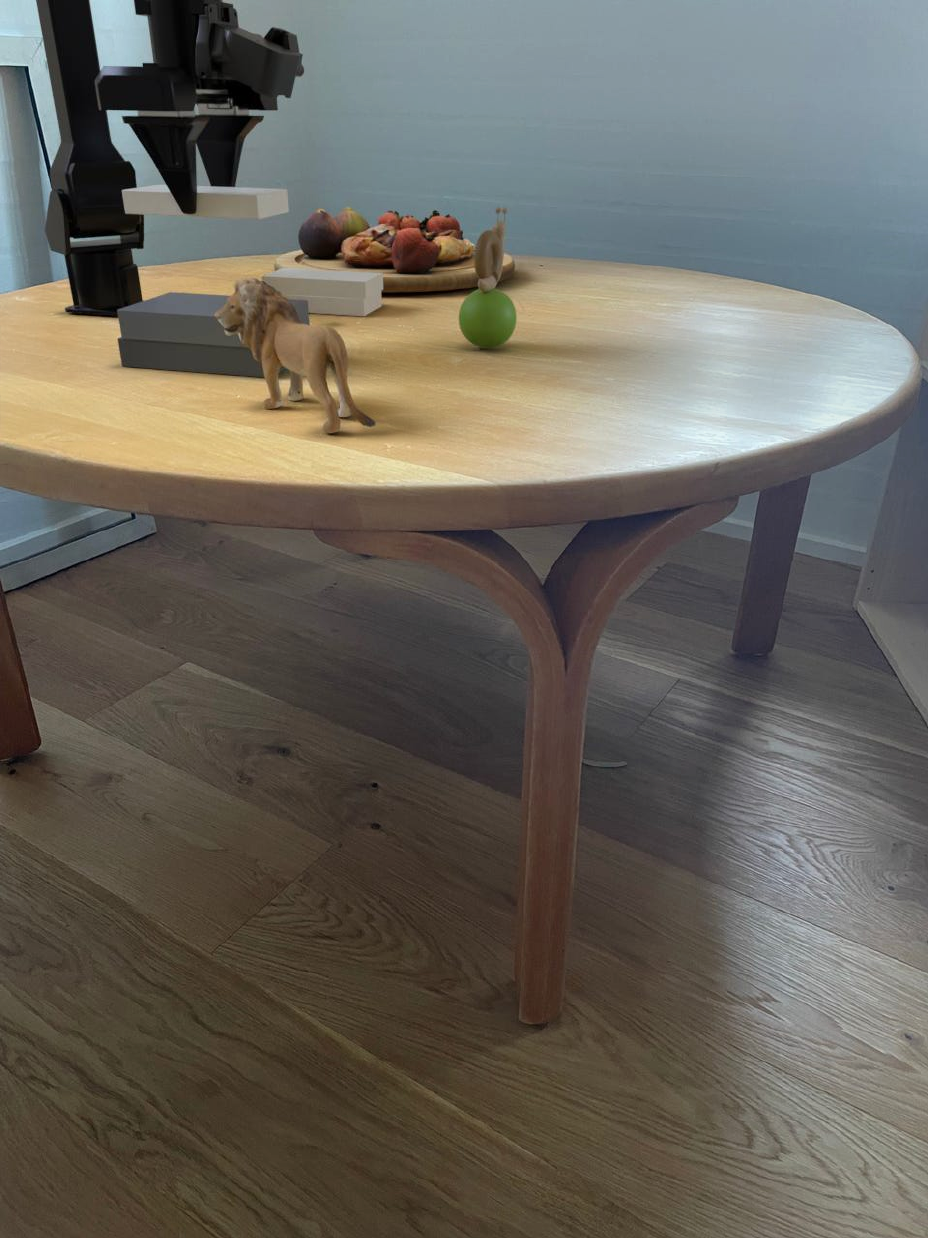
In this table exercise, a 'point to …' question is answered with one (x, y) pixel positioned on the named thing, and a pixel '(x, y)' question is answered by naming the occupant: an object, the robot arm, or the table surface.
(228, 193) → the white rectangular block
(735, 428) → the table surface
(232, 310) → the lion figurine
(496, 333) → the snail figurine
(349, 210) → the wooden plate
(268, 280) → the light grey block
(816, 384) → the table surface
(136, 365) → the dark grey box
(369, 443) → the table surface
